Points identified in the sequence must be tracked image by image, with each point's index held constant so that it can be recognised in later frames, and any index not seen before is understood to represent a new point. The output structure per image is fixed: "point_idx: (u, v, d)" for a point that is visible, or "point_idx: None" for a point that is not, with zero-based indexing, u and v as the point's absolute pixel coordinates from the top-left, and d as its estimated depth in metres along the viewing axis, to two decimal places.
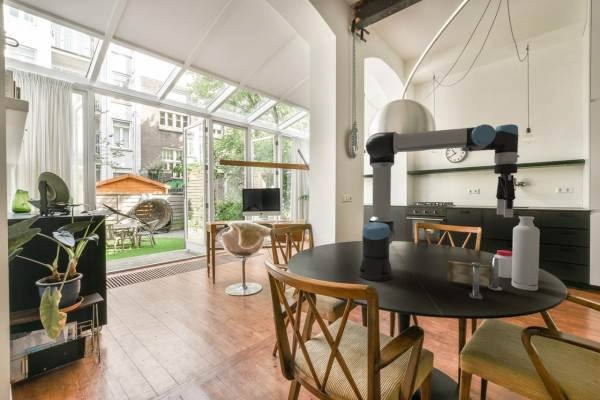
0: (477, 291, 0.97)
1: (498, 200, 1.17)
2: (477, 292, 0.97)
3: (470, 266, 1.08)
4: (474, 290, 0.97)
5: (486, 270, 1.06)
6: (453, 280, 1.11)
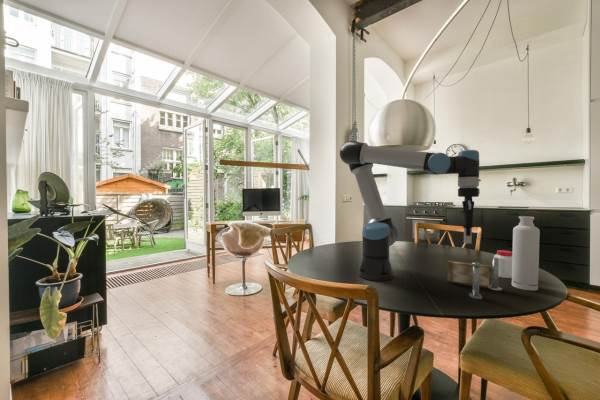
0: (477, 291, 0.97)
1: None
2: (477, 292, 0.97)
3: (470, 266, 1.08)
4: (474, 290, 0.97)
5: (486, 270, 1.06)
6: (453, 280, 1.11)
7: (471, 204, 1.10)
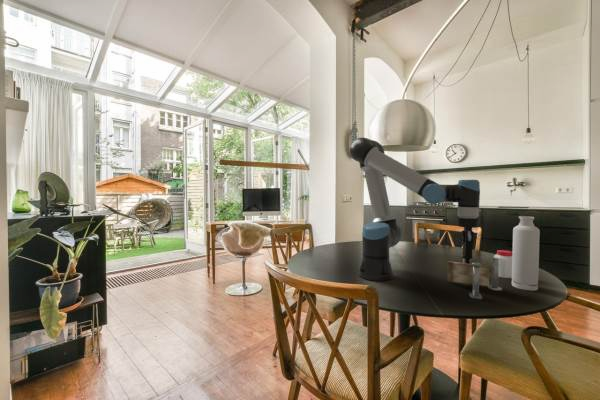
0: (477, 291, 0.97)
1: None
2: (477, 292, 0.97)
3: (470, 266, 1.08)
4: (474, 290, 0.97)
5: (486, 270, 1.06)
6: (453, 280, 1.11)
7: (471, 235, 1.08)
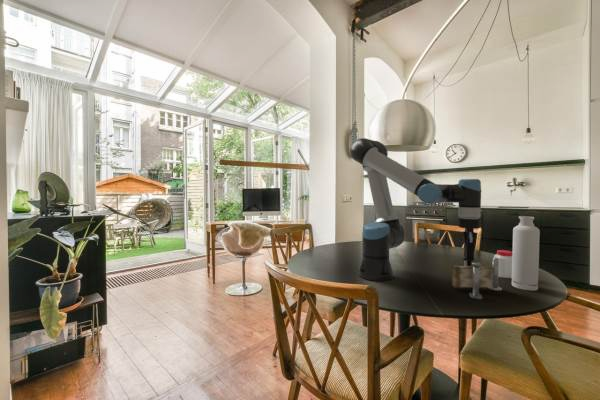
0: (477, 291, 0.97)
1: None
2: (477, 292, 0.97)
3: None
4: (474, 290, 0.97)
5: (489, 271, 1.04)
6: (460, 286, 1.04)
7: (472, 236, 1.04)
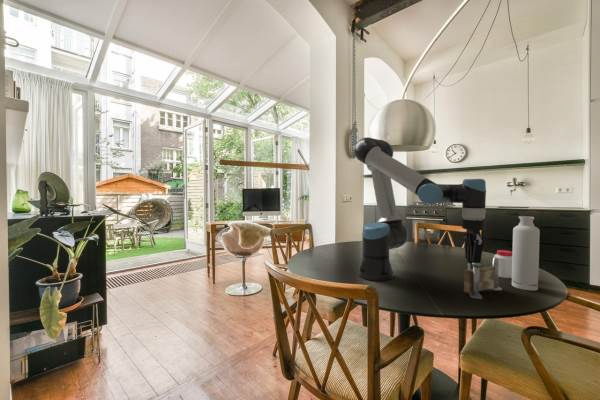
0: (477, 291, 0.97)
1: None
2: (477, 292, 0.97)
3: (483, 271, 1.01)
4: (474, 290, 0.97)
5: (492, 272, 1.03)
6: None
7: None
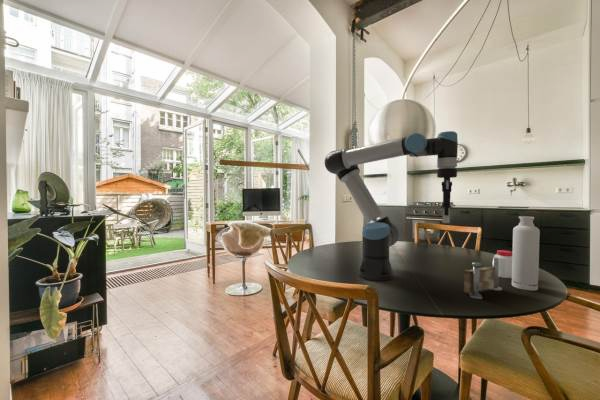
0: (477, 291, 0.97)
1: None
2: (477, 292, 0.97)
3: (483, 271, 1.01)
4: (474, 290, 0.97)
5: (492, 272, 1.03)
6: None
7: None
